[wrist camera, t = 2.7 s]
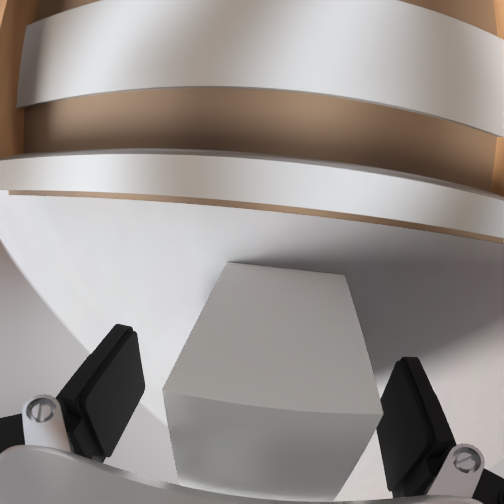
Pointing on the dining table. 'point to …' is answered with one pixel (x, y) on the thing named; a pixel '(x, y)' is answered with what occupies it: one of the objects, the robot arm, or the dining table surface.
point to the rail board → (261, 106)
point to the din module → (272, 387)
